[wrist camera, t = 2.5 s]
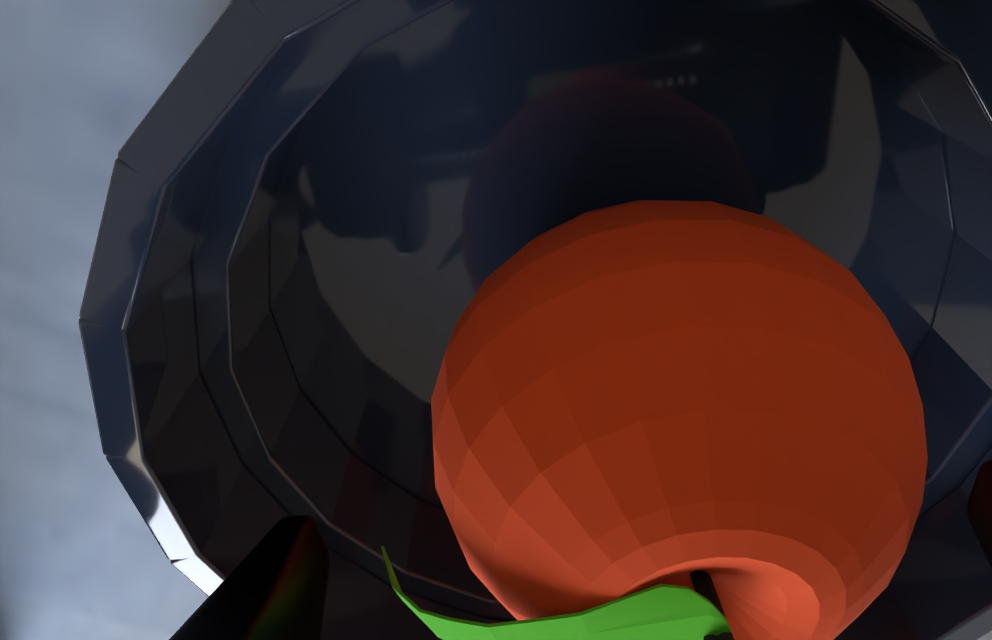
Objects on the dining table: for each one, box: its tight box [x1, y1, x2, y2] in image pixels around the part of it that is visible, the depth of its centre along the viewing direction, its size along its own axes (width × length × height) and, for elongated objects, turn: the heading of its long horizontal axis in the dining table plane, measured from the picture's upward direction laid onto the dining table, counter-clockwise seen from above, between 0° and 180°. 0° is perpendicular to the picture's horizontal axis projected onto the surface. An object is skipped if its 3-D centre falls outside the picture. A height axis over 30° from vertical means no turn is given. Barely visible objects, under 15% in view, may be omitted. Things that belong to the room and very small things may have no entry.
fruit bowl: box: [79, 0, 992, 640], centre depth 12 cm, size 15×15×4 cm
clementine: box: [381, 200, 928, 640], centre depth 10 cm, size 8×7×7 cm
